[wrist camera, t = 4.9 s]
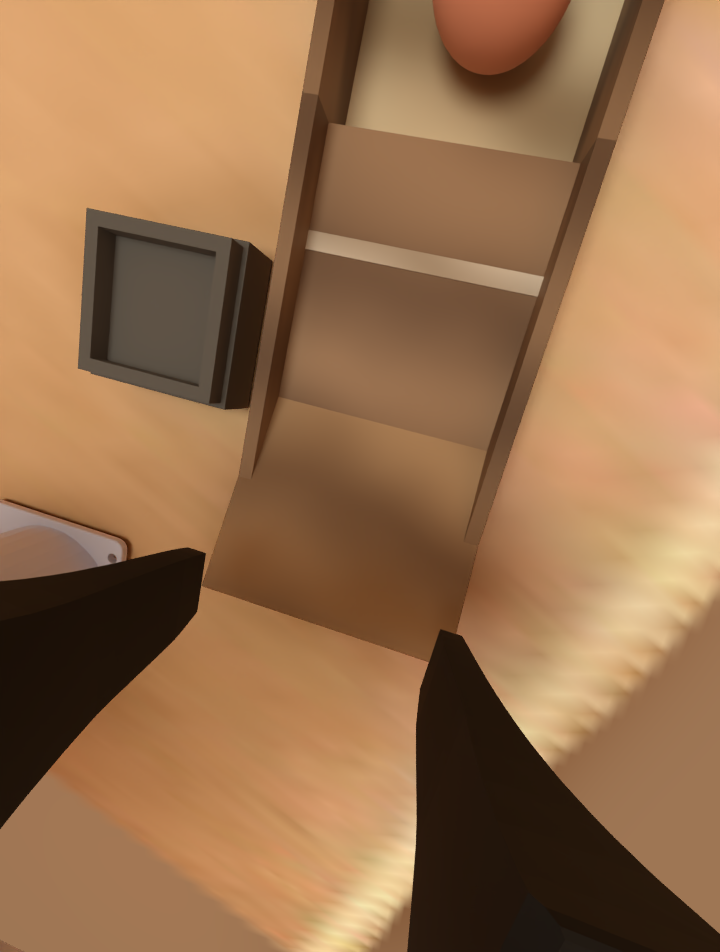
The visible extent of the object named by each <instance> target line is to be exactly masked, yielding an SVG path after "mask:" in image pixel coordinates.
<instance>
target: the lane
mask: <svg viewBox="0 0 720 952" xmlns="http://www.w3.org/2000/svg"><path fill="white" fill-rule="evenodd" d="M663 3H664V0H571V1H570V4H569V6H568V8H567V10H566V12H565V14H564V16H563V17H562V19H561V20H560V22H559V24H558V25H557V27H556V28H555V30H554V31H553V33H552V34H551V35H550V37H549V38H548V39H547V41H546V42H545V43H544V44H543V45H542V46H541V47H540V48H539V49H538V50H537V51H536V53H534V54H533V55H532V56H531V57H530V58H528V59H527V60H526V61H525V62H523V63H522V64H520V65H518V66H517V67H515V68H513V69H511V70H509V71H506V72H503V73H499V74H494V75H482V74H477V73H473V72H471V71H469V70H467V69H465V68H464V67H462V66H461V65H459V64H458V63H457V62H456V61H455V60H454V59H453V58H452V56H451V55H450V54H449V52H448V51H447V49H446V48H445V46H444V44H443V41H442V39H441V37H440V35H439V31H438V28H437V25H436V21H435V16H434V10H433V1H432V0H318V1H317V7H316V13H315V19H314V25H313V31H312V37H311V43H310V49H309V55H308V61H307V67H306V73H305V79H304V85H303V91H302V97H301V103H300V109H299V115H298V121H297V128H296V134H295V140H294V146H293V152H292V158H291V164H290V170H289V176H288V182H287V188H286V194H285V200H284V206H283V212H282V218H281V224H280V230H279V236H278V242H277V248H276V254H275V260H274V266H273V272H272V278H271V284H270V290H269V296H268V302H267V308H266V314H265V321H264V327H263V333H262V339H261V345H260V351H259V357H258V363H257V369H256V375H255V381H254V387H253V393H252V399H251V405H250V411H249V417H248V423H247V429H246V435H245V441H244V447H243V453H242V459H241V465H240V471H239V477H238V480H237V483H236V486H235V489H234V492H233V495H232V498H231V501H230V503H229V506H228V509H227V512H226V515H225V518H224V521H223V524H222V527H221V530H220V533H219V536H218V539H217V542H216V545H215V548H214V551H213V554H212V557H211V560H210V563H209V566H208V569H207V572H206V575H205V578H204V581H203V584H202V586H203V587H206V588H209V589H212V590H215V591H218V592H221V593H224V594H227V595H230V596H233V597H236V598H239V599H242V600H245V601H248V602H251V603H254V604H257V605H260V606H263V607H266V608H269V609H272V610H275V611H278V612H281V613H284V614H287V615H290V616H293V617H296V618H299V619H302V620H305V621H308V622H311V623H314V624H317V625H320V626H323V627H326V628H329V629H332V630H335V631H338V632H341V633H344V634H347V635H350V636H353V637H356V638H359V639H362V640H365V641H368V642H371V643H374V644H377V645H380V646H383V647H385V648H388V649H391V650H394V651H397V652H400V653H403V654H406V655H409V656H412V657H415V658H418V659H421V660H424V661H427V662H429V661H430V658H431V655H432V652H433V649H434V646H435V643H436V640H437V637H438V634H439V631H440V629H442V630H445V631H448V632H451V633H454V634H456V631H457V627H458V623H459V619H460V615H461V611H462V607H463V603H464V600H465V596H466V592H467V588H468V584H469V580H470V576H471V572H472V568H473V564H474V560H475V556H476V552H477V548H478V544H479V542H480V539H481V536H482V533H483V530H484V527H485V524H486V521H487V518H488V515H489V512H490V509H491V506H492V503H493V501H494V498H495V495H496V492H497V489H498V486H499V483H500V480H501V477H502V474H503V471H504V468H505V465H506V463H507V460H508V457H509V454H510V451H511V448H512V445H513V442H514V439H515V436H516V433H517V430H518V427H519V424H520V422H521V419H522V416H523V413H524V410H525V407H526V404H527V401H528V398H529V395H530V392H531V389H532V386H533V384H534V381H535V378H536V375H537V372H538V369H539V366H540V363H541V360H542V357H543V354H544V351H545V348H546V345H547V343H548V340H549V337H550V334H551V331H552V328H553V325H554V322H555V319H556V316H557V313H558V310H559V307H560V305H561V302H562V299H563V296H564V293H565V290H566V287H567V284H568V281H569V278H570V275H571V272H572V269H573V267H574V264H575V261H576V258H577V255H578V252H579V249H580V246H581V243H582V240H583V237H584V234H585V231H586V228H587V226H588V223H589V220H590V217H591V214H592V211H593V208H594V205H595V202H596V199H597V196H598V193H599V190H600V188H601V185H602V182H603V179H604V176H605V173H606V170H607V167H608V164H609V161H610V158H611V155H612V152H613V149H614V147H615V144H616V141H617V138H618V135H619V132H620V129H621V126H622V123H623V120H624V117H625V114H626V111H627V109H628V106H629V103H630V100H631V97H632V94H633V91H634V88H635V85H636V82H637V79H638V76H639V73H640V70H641V68H642V65H643V62H644V59H645V56H646V53H647V50H648V47H649V44H650V41H651V38H652V35H653V32H654V30H655V27H656V24H657V21H658V18H659V15H660V12H661V9H662V6H663Z"/></svg>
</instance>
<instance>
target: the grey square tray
mask: <svg viewBox="0 0 720 952" xmlns="http://www.w3.org/2000/svg"><path fill="white" fill-rule="evenodd" d="M271 266H272V261H271V260H270V259H269V258H268V257H267V256H265V255H264V254H263V253H262V252H261V251H259V250H258V249H257V248H256V247H255V246H253V245H252V244H251V243H250V242H246V241H242V240H237V239H232V238H228V237H224V236H219V235H214V234H209V233H204V232H200V231H195V230H190V229H185V228H180V227H176V226H171V225H166V224H161V223H156V222H152V221H147V220H142V219H137V218H133V217H128V216H123V215H118V214H113V213H109V212H104V211H99V210H94V209H89V208H87V212H86V230H85V248H84V267H83V285H82V304H81V322H80V340H79V359H78V369H82V370H86V371H89V372H91V374H94V375H98V376H102V377H106V378H109V379H113V380H117V381H120V382H124V383H128V384H131V385H135V386H139V387H143V388H146V389H150V390H154V391H157V392H161V393H165V394H169V395H172V396H176V397H180V398H183V399H187V400H191V401H194V402H198V403H202V404H206V405H209V406H213V407H217V408H220V409H224V410H226V409H241V408H248V405H249V399H250V393H251V387H252V381H253V375H254V369H255V363H256V357H257V351H258V345H259V339H260V332H261V326H262V320H263V314H264V308H265V302H266V296H267V290H268V284H269V278H270V272H271Z"/></svg>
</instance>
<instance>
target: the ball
mask: <svg viewBox="0 0 720 952" xmlns="http://www.w3.org/2000/svg"><path fill="white" fill-rule="evenodd" d="M432 1H433V10H434V16H435V21H436V25H437V28H438V31H439V35H440V37H441V39H442V41H443V44H444V46H445V48H446V49H447V51H448V52H449V54H450V55H451V56H452V58H453V59H454V60H455V61H456V62H457V63H458V64H459V65H461V66H462V67H464V68H465V69H467V70H469V71H471V72H473V73H477V74H482V75H494V74H499V73H503V72H506V71H509V70H511V69H513V68H515V67H517V66H518V65H520V64H522V63H523V62H525V61H526V60H527V59H528V58H530V57H531V56H532V55H533V54H534V53H536V51H537V50H538V49H539V48H540V47H541V46H542V45H543V44H544V43H545V42H546V41H547V39H548V38H549V37H550V35H551V34H552V33H553V31H554V30H555V28H556V27H557V25H558V24H559V22H560V20H561V19H562V17H563V16H564V14H565V12H566V10H567V8H568V6H569V4H570V1H571V0H432Z"/></svg>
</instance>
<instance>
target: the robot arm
mask: <svg viewBox="0 0 720 952" xmlns="http://www.w3.org/2000/svg"><path fill="white" fill-rule="evenodd" d="M114 555H115V556H116V558H117V559H116V558H115V557H114ZM205 556H206V553H203V552H200V551H197V550H194V549H191V548H180V549H175V550H170V551H165V552H161V553H156V554H152V555H148V556H144V557H139V558H135V559H131V560H126V557H127V545H126V543H125V542H124V541H123V540H122V539H120V538H118V537H114V536H111V535H108V534H105V533H102V532H99V531H96V530H93V529H90V528H87V527H84V526H81V525H78V524H75V523H72V522H69V521H66V520H63V519H60V518H56V517H53V516H50V515H47V514H44V513H41V512H38V511H35V510H32V509H29V508H26V507H23V506H20V505H17V504H14V503H11V502H8V501H5V500H0V829H1V827H2V826H3V825H4V823H5V822H6V821H7V820H8V818H9V817H10V816H11V815H12V813H13V812H14V811H15V810H16V809H17V807H18V806H19V805H20V804H21V802H22V801H23V800H24V799H25V797H26V796H27V795H28V794H29V793H30V791H31V790H32V789H33V788H34V787H35V785H36V784H37V783H38V782H39V781H40V779H41V778H42V777H43V776H44V775H45V774H46V772H47V771H48V770H49V769H50V768H51V766H52V765H53V764H54V763H55V762H56V761H57V759H58V758H59V757H60V756H61V755H62V753H63V752H64V751H65V750H66V749H67V748H68V747H69V745H70V744H71V743H72V742H73V741H74V740H75V739H76V738H77V736H78V735H79V734H80V733H81V732H82V731H83V730H84V729H85V727H86V726H87V725H88V724H89V723H90V722H91V721H92V719H93V718H94V717H95V716H96V715H97V714H98V713H99V712H100V711H101V710H102V709H103V708H104V707H105V706H106V705H107V704H108V703H109V702H110V701H111V700H112V699H113V698H114V697H115V696H116V695H117V694H118V693H119V692H120V691H121V690H122V689H123V688H125V687H126V686H127V685H128V684H129V683H130V682H131V681H132V680H133V679H134V678H135V677H136V676H137V675H138V674H139V673H140V672H141V671H142V670H144V669H145V668H146V667H147V666H148V665H149V664H150V663H151V662H152V661H153V660H154V659H155V658H156V657H157V656H158V655H159V654H160V653H161V652H162V651H163V650H164V649H165V648H166V647H167V646H169V645H170V644H171V643H172V642H173V641H174V640H175V638H176V637H177V636H178V635H179V634H180V632H181V631H182V630H183V629H184V628H185V626H186V625H187V624H188V623H189V621H190V620H191V619H192V618H193V616H194V615H195V614H196V612H197V609H198V602H199V595H200V589H201V582H202V576H203V569H204V562H205ZM416 793H417V828H416V851H415V864H414V878H413V891H412V903H411V915H410V927H409V938H408V949H407V952H720V934H719V933H718V932H717V931H716V930H715V929H713V928H712V927H711V926H710V925H709V924H708V923H707V922H706V921H705V920H703V919H702V918H701V917H700V916H699V915H698V914H697V913H695V912H694V911H693V910H692V909H691V908H690V907H689V906H687V905H686V904H685V903H684V902H683V901H682V900H681V899H680V898H678V897H677V896H676V895H675V894H674V893H673V892H672V891H670V890H669V889H668V888H667V887H666V886H665V885H664V884H662V883H661V882H660V881H659V880H658V879H657V878H656V877H655V876H654V875H653V874H652V873H650V872H649V871H648V870H647V869H646V868H645V867H644V866H643V865H642V864H641V863H640V862H639V861H638V860H637V859H636V858H635V857H634V856H633V855H632V854H631V853H630V852H629V851H628V850H627V849H626V848H624V846H622V845H621V844H620V843H619V842H618V841H617V840H616V839H615V838H614V837H613V836H612V835H611V834H610V833H609V832H608V831H607V830H606V829H605V828H604V826H602V825H601V824H600V822H599V821H597V819H596V818H595V817H594V816H593V815H592V814H591V813H590V812H589V811H588V810H587V809H586V808H585V806H584V805H583V804H582V803H581V802H580V801H579V800H578V799H577V798H576V797H575V796H574V795H573V793H572V792H571V791H570V790H569V789H568V788H567V787H566V786H565V785H564V784H563V782H562V781H561V780H560V779H559V778H558V777H557V776H556V774H555V773H554V772H553V771H552V769H551V768H550V767H549V766H548V765H547V763H546V762H545V761H544V760H543V758H542V757H541V756H540V755H539V753H538V752H537V751H536V750H535V748H534V747H533V746H532V745H531V743H530V742H529V741H528V739H527V738H526V737H525V735H524V734H523V733H522V731H521V730H520V729H519V727H518V726H517V724H516V723H515V721H514V720H513V719H512V717H511V716H510V714H509V713H508V711H507V710H506V709H505V707H504V705H503V704H502V702H501V701H500V699H499V698H498V696H497V695H496V693H495V692H494V690H493V688H492V687H491V685H490V684H489V682H488V680H487V679H486V677H485V675H484V674H483V672H482V670H481V668H480V667H479V665H478V663H477V662H476V660H475V658H474V656H473V655H472V653H471V651H470V649H469V647H468V646H467V644H466V642H465V640H464V639H463V637H462V636H460V635H457V634H454V633H451V632H448V631H445V630H442V629H440V631H439V634H438V637H437V640H436V643H435V646H434V649H433V652H432V655H431V658H430V661H429V664H428V667H427V670H426V673H425V676H424V679H423V682H422V685H421V688H420V694H419V703H418V712H417V722H416ZM0 952H23V951H21V950H19V949H17V948H15V947H13V946H11V945H9V944H7V943H5V942H3V941H1V940H0Z"/></svg>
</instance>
